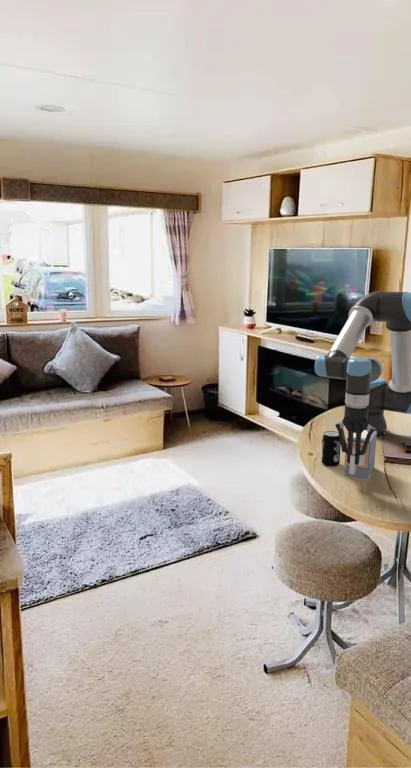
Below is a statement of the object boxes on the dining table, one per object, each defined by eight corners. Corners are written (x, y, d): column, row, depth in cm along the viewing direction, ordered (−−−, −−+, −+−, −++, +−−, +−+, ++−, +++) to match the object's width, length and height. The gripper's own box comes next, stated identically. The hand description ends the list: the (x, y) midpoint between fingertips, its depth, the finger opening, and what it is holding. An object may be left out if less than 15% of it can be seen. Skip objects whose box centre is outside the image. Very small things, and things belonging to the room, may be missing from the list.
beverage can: (329, 468, 203) (330, 437, 200) (317, 462, 209) (319, 432, 206) (343, 465, 206) (345, 434, 203) (331, 459, 212) (333, 429, 209)
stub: (346, 441, 193) (346, 442, 192) (369, 444, 189) (368, 445, 188) (345, 463, 194) (344, 464, 193) (367, 467, 191) (366, 468, 190)
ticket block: (352, 464, 207) (354, 428, 203) (374, 467, 203) (376, 431, 200) (344, 475, 196) (346, 437, 193) (367, 479, 193) (370, 441, 190)
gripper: (334, 405, 182) (330, 473, 188) (374, 410, 176) (369, 480, 182) (339, 400, 189) (335, 465, 194) (379, 405, 183) (374, 472, 188)
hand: (352, 472), depth 188 cm, fingers closed
